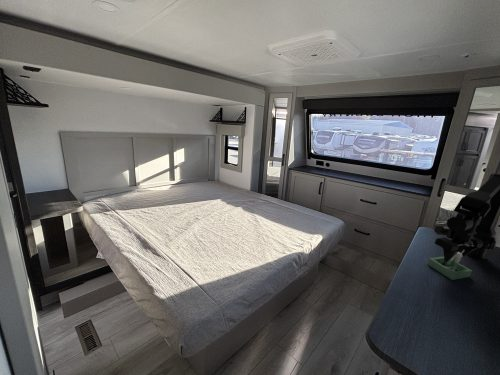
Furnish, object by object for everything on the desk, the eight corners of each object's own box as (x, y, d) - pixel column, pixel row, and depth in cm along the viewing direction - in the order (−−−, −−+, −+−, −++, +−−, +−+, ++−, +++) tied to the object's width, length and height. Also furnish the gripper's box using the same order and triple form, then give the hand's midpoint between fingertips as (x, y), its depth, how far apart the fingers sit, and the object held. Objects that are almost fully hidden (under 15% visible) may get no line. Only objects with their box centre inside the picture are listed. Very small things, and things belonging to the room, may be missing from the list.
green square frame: (443, 261, 99) (445, 256, 99) (469, 276, 90) (472, 270, 89) (427, 264, 97) (429, 258, 96) (452, 279, 88) (454, 273, 87)
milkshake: (461, 274, 91) (469, 253, 88) (448, 273, 92) (455, 252, 89) (452, 267, 96) (459, 247, 93) (439, 266, 96) (446, 246, 93)
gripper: (458, 216, 97) (446, 247, 102) (427, 219, 92) (416, 251, 97) (490, 229, 87) (475, 262, 92) (457, 232, 82) (443, 267, 87)
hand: (451, 260), depth 92 cm, fingers open, 6 cm apart
